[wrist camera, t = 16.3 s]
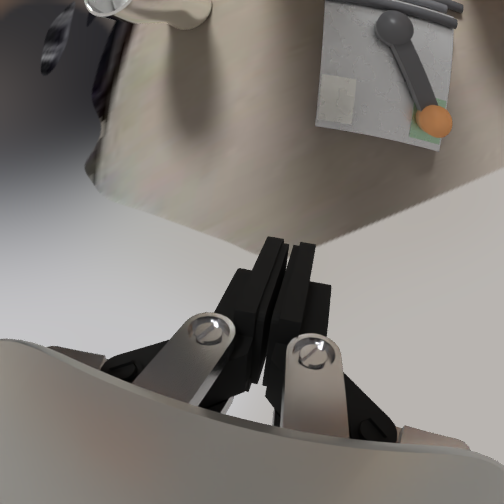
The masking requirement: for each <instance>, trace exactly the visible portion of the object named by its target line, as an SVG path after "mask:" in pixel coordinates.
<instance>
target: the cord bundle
mask: <svg viewBox="0 0 504 504" xmlns="http://www.w3.org/2000/svg"><path fill="white" fill-rule="evenodd" d="M334 1H341V2H348V3H355V4H361V5H367V6H372V7H377V8H382V9H387V10H395V11H399V12H401V13H404V14H408V15H412V16H415V17H419V18H422V19H426V20H429V21H433V22H436V23H439V24H442V25H445V26H448V27H451V28H454V29H456V28H457V20H456V19H454V18H451V17H448V16H445V15H442V14H439V13H436V12H433V11H430V10H426V9H423V8H419V7H416V6H412V5H408V4H404V3H400V2H396V1H392V0H334ZM401 1H405V2H409V3H412V4H416V5H420V6H423V7H427V8H430V9H433V10H436V11H439V12H442V13H445V14H446V13H447V9H451V10H454V11H456V12H459V13H462V12H463V5H462V4H460V3H457V2H454V1H451V0H401Z"/></svg>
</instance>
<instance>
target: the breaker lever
mask: <svg viewBox="0 0 504 504" xmlns="http://www.w3.org/2000/svg"><path fill="white" fill-rule="evenodd" d="M375 33H376V35H377V37H378V38H379V39H380V41H382V42H383V43H384V44H386V45H388V46H390V47H391V49H392V51H393V53H394V56H395V58H396V60H397V62H398V64H399V66H400V69H401V71H402V73H403V75H404V78H405V80H406V82H407V85H408V87H409V90H410V92H411V95H412V97H413V100H414V102H415V105H416V107H417V112H416V122H417V125H418V126H419V128H420V129H421V130H422V131H424V132H426V133H428V134H429V135H431V136H433V137H436V138H442V137H445V136H446V135H448V134H449V132H450V131H451V128H452V118H451V115H450V114H449V112H448V111H447V110H446V109H445V108H443V107H441V106H438V103H437V100H436V98H435V95H434V92H433V90H432V87H431V84H430V82H429V79H428V77H427V75H426V72H425V70H424V67H423V65H422V63H421V61H420V58H419V56H418V54H417V52H416V50H415V47H414V45H413V43H412V41H411V38H412V36H413V34H414V27H413V24H412V22H411V20H410V19H409V18H408V17H407V16H406V15H405V14H403V13H401V12H399V11H395V10H389V11H386V12H384V13H382V14H381V15H380V17H379V18H378V20H377V21H376V23H375Z"/></svg>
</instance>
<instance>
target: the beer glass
mask: <svg viewBox="0 0 504 504" xmlns="http://www.w3.org/2000/svg"><path fill="white" fill-rule="evenodd" d="M84 3H85V6H86V8H87V9H88V11H89V12H90V13H91V14H93V15H95V16H99V17H105V18H109V19H112V20H116V21H121V22H126V23H134V24H152V23H168V24H169V25H171V26H172V27H174V28H177V29H180V30H189V29H193V28H195V27H197V26H199V25H201V24H202V23H203V22H204V21H205V20H206V19H207V17H208V16H209V14H210V12H211V8H212V2H211V0H84Z"/></svg>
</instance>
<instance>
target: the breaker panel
mask: <svg viewBox="0 0 504 504" xmlns="http://www.w3.org/2000/svg"><path fill="white" fill-rule="evenodd" d="M392 1H396V2H400V3H404V4H408V5H412V6H416V7H419V8H423V9H426V10H430V11H433V12H436V13H439V14H442V15H445V16H448V17H451V18H454V17H452V16H449V15H446V14H443V13H440V12H437V11H434V10H431V9H427V8H424V7H421V6H417V5H413V4H410V3H406V2H402V1H398V0H392ZM386 11H389V10H387V9H382V8H377V7H372V6H367V5H361V4H355V3H348V2H341V1H334V0H325V11H324V28H323V43H322V56H321V69H320V81H319V92H318V103H317V113H316V123H315V126H318V127H325V128H331V129H337V130H343V131H349V132H355V133H360V134H365V135H370V136H375V137H380V138H385V139H389V140H394V141H398V142H403V143H407V144H411V145H415V146H419V147H423V148H427V149H431V150H434V151H438V152H439V149H440V144H441V139H442V138H436V137H433V136H431V135H429V134H428V133H426V132H424V131H422V130H421V129H420V128H419V126H418V125H417V122H416V112H417V107H416V105H415V102H414V100H413V97H412V95H411V92H410V90H409V87H408V85H407V82H406V80H405V78H404V75H403V73H402V71H401V69H400V66H399V64H398V62H397V60H396V58H395V56H394V53H393V51H392V49H391V47H390V46H388V45H386V44H384V43H383V42H382V41H380V39H379V38H378V37H377V35H376V33H375V23H376V21H377V20H378V18H379V17H380V15H381V14H382V13H384V12H386ZM403 14H404V13H403ZM405 15H406V16H407V17H408V18H409V19H410V20H411V22H412V24H413V27H414V34H413V36H412V38H411V41H412V43H413V45H414V47H415V50H416V52H417V54H418V56H419V58H420V61H421V63H422V65H423V67H424V70H425V72H426V75H427V77H428V79H429V82H430V84H431V87H432V90H433V92H434V95H435V98H436V100H437V103H438V106H441V107H443V108H445V109H446V108H447V101H448V93H449V85H450V76H451V65H452V51H453V32H454V28H451V27H448V26H445V25H442V24H439V23H436V22H433V21H429V20H426V19H422V18H419V17H415V16H412V15H408V14H405Z"/></svg>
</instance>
